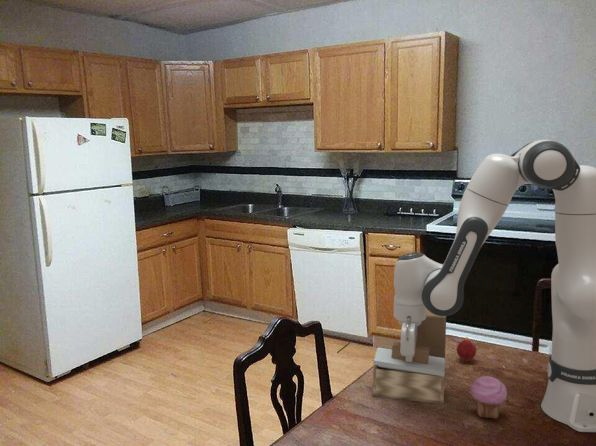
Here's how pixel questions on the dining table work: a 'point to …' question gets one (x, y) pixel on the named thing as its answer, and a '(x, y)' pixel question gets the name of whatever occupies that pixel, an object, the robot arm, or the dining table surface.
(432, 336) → the wooden block
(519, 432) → the dining table surface
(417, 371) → the lid
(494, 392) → the cupcake
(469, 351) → the onion
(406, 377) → the light wooden open box
